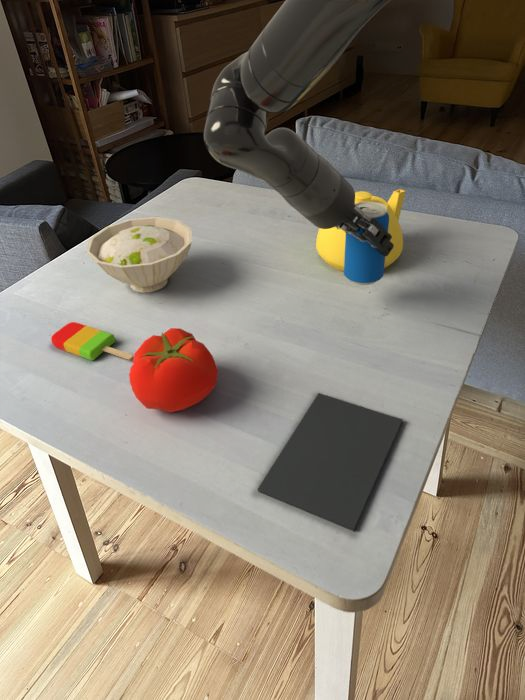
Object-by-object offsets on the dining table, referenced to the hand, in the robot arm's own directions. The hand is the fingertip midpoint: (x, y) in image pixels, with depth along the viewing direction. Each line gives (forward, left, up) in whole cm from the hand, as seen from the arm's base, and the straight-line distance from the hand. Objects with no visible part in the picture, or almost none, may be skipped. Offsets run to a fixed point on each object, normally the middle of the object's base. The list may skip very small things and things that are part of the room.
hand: (373, 242), depth 86 cm
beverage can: (+2, 0, -6) cm, 6 cm away
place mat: (+23, +27, -11) cm, 37 cm away
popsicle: (+46, -9, -12) cm, 48 cm away
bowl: (+33, -25, -12) cm, 43 cm away
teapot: (-8, -16, -12) cm, 21 cm away
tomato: (+37, +7, -12) cm, 39 cm away
